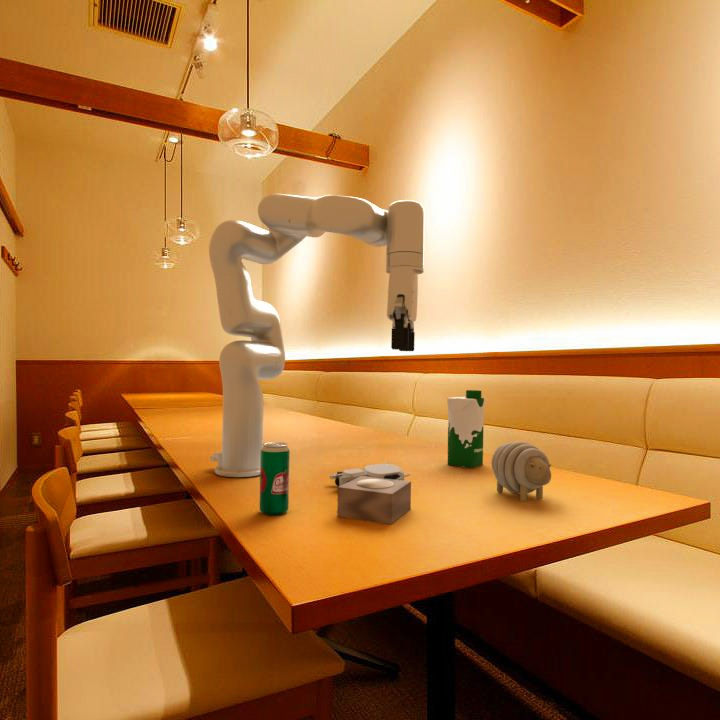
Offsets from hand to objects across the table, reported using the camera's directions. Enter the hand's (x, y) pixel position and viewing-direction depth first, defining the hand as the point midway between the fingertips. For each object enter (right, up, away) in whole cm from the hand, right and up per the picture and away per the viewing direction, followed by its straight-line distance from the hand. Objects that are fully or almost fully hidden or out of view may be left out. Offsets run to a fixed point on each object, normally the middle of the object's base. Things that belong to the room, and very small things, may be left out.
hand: (403, 350), depth 100 cm
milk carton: (+20, -30, +35) cm, 50 cm away
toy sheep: (+24, -30, +3) cm, 39 cm away
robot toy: (-7, -30, +7) cm, 31 cm away
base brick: (-6, -29, -11) cm, 32 cm away
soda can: (-24, -29, -12) cm, 39 cm away
